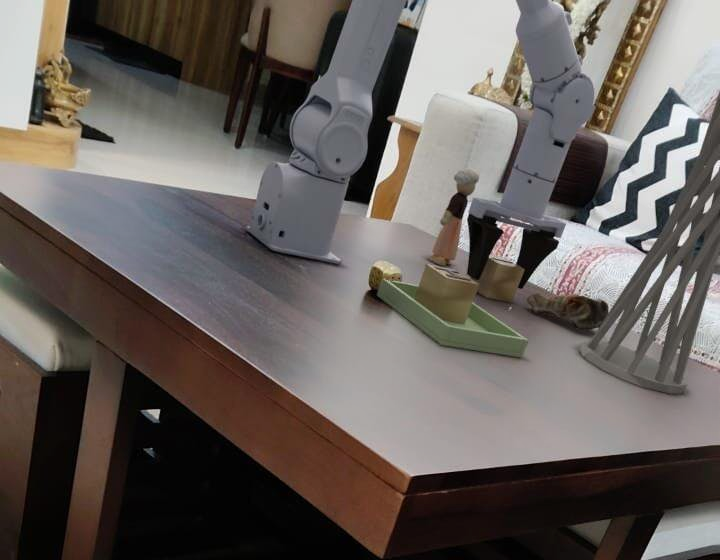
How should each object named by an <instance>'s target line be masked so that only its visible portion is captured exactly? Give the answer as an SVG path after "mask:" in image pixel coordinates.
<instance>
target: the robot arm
mask: <svg viewBox="0 0 720 560" xmlns="http://www.w3.org/2000/svg"><path fill="white" fill-rule="evenodd" d="M406 2H407V0H351V4H350V7H349V9H348V13H347V14H346V18H345V20H344V23H343V27H342V29H341V31H340V35H339V38H338V40H337V44H336V46H335V49H334V51H333V55H332V57H331V60H330V63H329V67H328V69H327V71H326V72H325V74H323V75H322V76H321V77H320V78H319V79H318V80H317V81H315V82H314V83H313V84H312V85H311V87H310V90H309V94H308V95H307V97H306V99H305V101H304V102H303V104H302V105H300V106H299V107H298V109H296V111H295V112H294V114H293V116H292V117H291V121H290V125H289V138H290V142H291V145H292V147H293V151H292V153H291V154H290V156H289V161H288V162H286V163H283V162H279V161H273V162H271V163H269V164H268V165H267V166H266V167H265V169H264V171H263V173H262V176H261V179H260V182H259V187H258V190H257V195H256V198H255V203H254V208H253V212H252V215H251V219H250V224H249V225H247V226H246V231H248V232H249V234H251V235H252V236H253V237H255V238H256V239H257V240H258V241H260V242H261V243H262V244H263V245H264V246H266V247H267V248H268V249H270V251H272V252H276V253H281V254H287V255H291V256H297V257H301V258H307V259H311V260H317V261H322V262H327V263H330V264H336V265H341V264H342V259H340V258H339V257H338V256H336V255H335V254H333V253H332V252H331V251H330V250H331V248H332V244H333V241H334V240H333V239H334V236H335V232H336V229H337V225H338V222H339V220H340V219H339V218H340V216H341V211H342V208H343V204H344V201H345V197H346V194H347V190H348V187H349V182H350V180H351V176H352V175H354V174H355V173H356V172H358V170H360V168H361V167H362V166H363V163H364V162H365V160H366V157H367V154H368V146H369V145H368V144H369V143H368V132H369V128H370V124H371V122H372V119H373V99H372V96H373V95H372V94H373V90H374V88H375V85H376V84H377V83H376V82H377V80H378V77H379V75H380V72H381V69H382V67H383V64H384V61H385V58H386V56H387V53H388V50H389V47H390V45H391V42H392V39H393V37H394V34H395V31H396V29H397V27H398V24H399V21H400V18H401V16H402V13H403V11H404V8H405V5H406ZM515 2H516V5H517V7H518V9H519V12H520V14H519V15H520V16H519V18H518V22H517V23H516V26H515V34H516V37H517V40H518V44H519V46H520V49H521V52H522V55H523V58H524V62H525V64H526V67H527V70H528V73H529V75H530V80H531V85H530V88H529V94H528V95H529V97H528V99H529V103H530V104H531V105H532V107H533V111H532V113H531V116H530V119H529V121H528V124H527V127H526V129H525V130H526V131H525V133H524V135H523V138H522V141H521V145H520V147H519V150H518V152H517V154H516V158H515V161H514V164H513V166H512V168H511V171H510V175H509V177H508V180H507V183H506V186H505V187H504V188H505V189H504V192H503V194H502V196H501V200H500V201H496V200H491V199H485V198H480V197H476V196H473V197H472V200H471V202H470V206H469V208H468V212H467V213H468V215H467V219H466V221H467V229H468V238H469V240H468V241H469V251H468V260H467V261H468V262H467V268H466V269H467V270H466V276H468V277H469V278H471V277H472V278H473V279H476V280H479V279H480V277H481V275H482V273H483V271H484V268H485V266H486V263H487V261H488V258H489V256H490V254H491V253H492V252H493V249H494V248H495V246H496V244H497V243H498V241H499V240H500V239H501V237H502V235H503V234H504V233H505V232H504V230H503V229H502V228H500V227H498V223H502V224H506V225H511V226H514V227H518V228H522V233H521V244H520V248H519V253H518V256H517V259H516V262H515V264H517V265H518V266H520V267H522V268H523V269H525V270H524V273H523V275H522V278H521V280H520V283H519V286H518V288H517V289H519V290H520V289H521V290H522V289H524V287H525V286H526V285H527V283H528V281H529V279H530V278H531V277H532V276H533V274H534V273H535V271H536V270H537V268H538V267H539V266H540V265H541V264H542V263H543V261H544V260H546V259H547V257H548V256H549V255H551V254H552V253H553V252H554V251H555V250H557V249H558V247H559V244H560V240H558V239H561V238H562V236H563V234H564V231H565V229H566V226H567V222H564V221H563V220H560V219H558V218H556V217H555V218H554V217H551V216H548V215H546V214H545V212H546V209H547V206H548V204H549V201H550V199H551V196H552V193H553V191H554V189H555V185H556V183H557V180H558V178H559V175H560V172H561V170H562V167H563V165H564V162H565V159H566V157H567V154H568V151H569V149H570V146H571V144H572V141H573V140H575V139H576V137H577V134H578V131H579V130H580V128H581V127H582V126H583V125H584V124H586V123H587V122H588V121H589V120H590V119H591V118H592V116H593V114H594V112H595V110H596V105H594V102H595V86H594V84H593V82H592V81H593V80H592V79H591V78H590V77H589V76H588V75H586V74H585V73H582V66H583V64H584V62H583V57H582V55H580V54H578V51H577V48H576V45H575V42H574V39H573V35H572V31H571V28H570V26H571V25H572V24H573V18H572V15H571V12H569V11H565V8H564V6H563V5H562V4H561V3H559V2H555V1H552V0H515ZM513 219H514V220H513ZM497 222H498V223H497ZM556 238H557V239H556ZM491 255H492V254H491Z"/></svg>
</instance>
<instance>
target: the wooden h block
mask: <svg viewBox="0 0 720 560" xmlns="http://www.w3.org/2000/svg"><path fill="white" fill-rule="evenodd" d="M418 285H419V287H418V290H417V293H416V296H415V299H414V300H415V301H417V302H418V303H420V304H421V305H422V306H424V307H425V308H426V309H428V310H429V311H431V312H432V313H433V314H435V315H436V316H437V317H439V318H440V319H441V320H445V321H451V322H456V323H462V324H465V322H466V319H467V316H468V314H469V311H470V308H471V305H472V303H474V299H475V297H476V294H477V293H478V292H477V289H478V286H479V284H478V283H476V282H474V281H473V280H471V277H469V276H468V275H465V274H464V273H463V272H460V271H459V270H457V269H452V268H448V267H443V266H440V265H434V264H429V263H425V265H424V268H423V272H422V275H421V278H420V281H419V284H418Z"/></svg>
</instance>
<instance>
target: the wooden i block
mask: <svg viewBox="0 0 720 560" xmlns="http://www.w3.org/2000/svg"><path fill="white" fill-rule="evenodd" d="M524 270H525V269H523V268H522V267H520V266H518V265H517V264H516V262H513V261H511V259H508V258H506V257H503V256H499V255H495V254H490V256H489V258H488V261H487V263H486V266H485V268H484V271H483V273H482V275H481V277H480V279H479V280H476V279H473V278H472V277H470V279H471V280H473V281H474V282H476V283H478V284H479V286H478V289H477V292H476V293H478V294H480V295H481V296H483V297H484V298H486V299H490V300H495V301H501V302H506V303H511V304H512V303H513V301H514V298H515V296H516V294H517V291H518V289H519V288H518V286H519V283H520V280H521V278H522V275H523V273H524Z"/></svg>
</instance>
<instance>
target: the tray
mask: <svg viewBox="0 0 720 560" xmlns="http://www.w3.org/2000/svg"><path fill="white" fill-rule="evenodd" d="M386 279H387V278H384V279H382V278H381V280H380V284H379V286H378V290H377V292H376V296H377V297H378V298H379V299H381V300H382V301H383V302H385V303H386V304H387V305H388V306H389V307H391V308H392V309H394V310H395V311H396V312H398V313H399V314H400V315H402V317H404V318H405V319H407V320H408V321H409V322H411V323H412V324H413V325H415V327H417V328H418V329H419V330H421V331H422V332H424V333H425V334H426V335H428V336H429V337H430V338H431V339H433V340H434V341H435V342H437V343H438V344H440V345H441V346H446V347H452V348H458V349H465V350H471V351H477V352H483V353H488V354H489V353H490V354H495V355H503V356H509V357H514V358H523V356H524V353H525V352H526V348H527V346H528V344H529V340H530V339H528V338H526V337H525V336H523V335H522V334H520V333H518V331H516V330H514V329H513V328H511V327H510V326H508V325H507V324H506V323H504V322H502V321H501V320H499V319H498V318H497V317H495V316H494V315H492V314H491V313H490V312H488V311H486V310H485V309H484V308H482V307H480V306H479V305H477V303H475V302H473V303H472V305H471V308H470V311H469V314H468V316H467V319H466V322H465V324H462V323H456V322H451V321H445V320H441V319H440V318H439V317H437V316H436V315H435V314H433V313H432V312H431V311H429V310H428V309H426V308H425V307H424V306H422V305H421V304H420V303H418V302H417V301H415V300H414V299H415V296H416V293H417V290H418V287H419V284H415V283H408V282H404V281H399V280H394V281H390V280H391V279H389V281H388V280H386Z"/></svg>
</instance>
